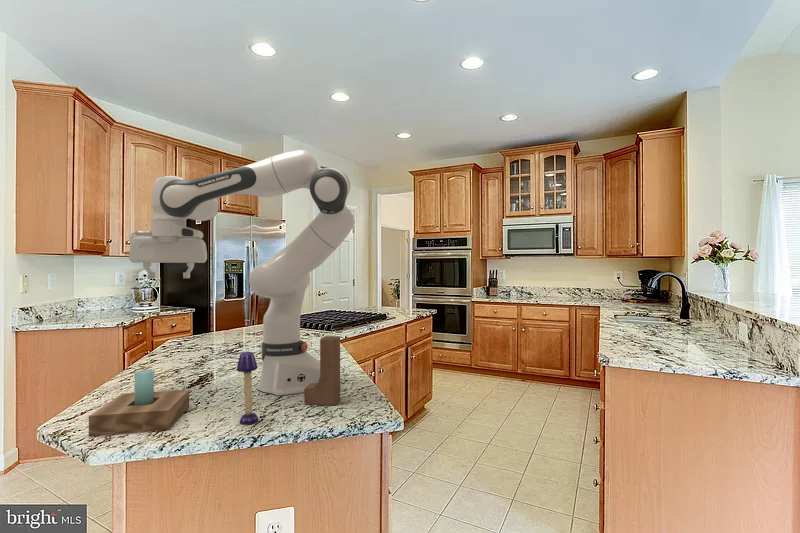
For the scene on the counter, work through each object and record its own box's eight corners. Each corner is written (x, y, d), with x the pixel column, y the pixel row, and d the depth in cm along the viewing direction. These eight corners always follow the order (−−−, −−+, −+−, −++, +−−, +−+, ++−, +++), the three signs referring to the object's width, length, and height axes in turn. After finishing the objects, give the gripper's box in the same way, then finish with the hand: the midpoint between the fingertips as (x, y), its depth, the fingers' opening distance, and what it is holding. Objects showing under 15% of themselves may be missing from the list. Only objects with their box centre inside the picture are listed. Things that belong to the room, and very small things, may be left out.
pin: (155, 413, 100) (156, 369, 100) (149, 419, 96) (150, 373, 96) (137, 415, 99) (138, 370, 99) (130, 420, 95) (131, 374, 96)
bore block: (189, 406, 107) (189, 389, 107) (168, 429, 92) (168, 410, 92) (122, 411, 104) (122, 393, 104) (88, 436, 88) (88, 415, 88)
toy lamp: (250, 426, 94) (250, 355, 94) (232, 425, 94) (232, 354, 94) (261, 418, 98) (261, 350, 98) (244, 417, 99) (244, 350, 99)
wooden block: (303, 404, 108) (303, 338, 108) (309, 399, 113) (309, 335, 113) (335, 406, 107) (335, 339, 107) (340, 400, 112) (340, 336, 112)
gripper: (124, 229, 113) (124, 278, 113) (203, 231, 117) (203, 278, 117) (134, 231, 119) (134, 278, 119) (208, 233, 124) (208, 277, 123)
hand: (169, 278), depth 118 cm, fingers open, 8 cm apart
